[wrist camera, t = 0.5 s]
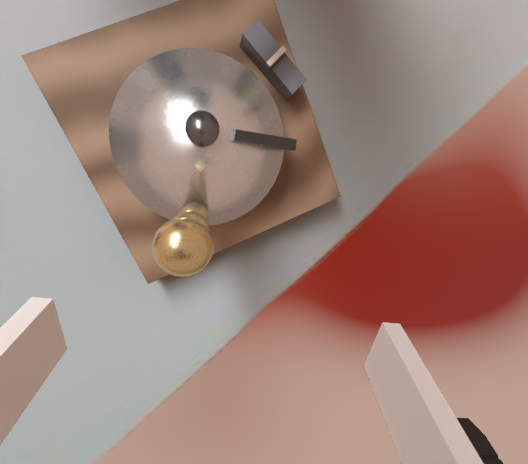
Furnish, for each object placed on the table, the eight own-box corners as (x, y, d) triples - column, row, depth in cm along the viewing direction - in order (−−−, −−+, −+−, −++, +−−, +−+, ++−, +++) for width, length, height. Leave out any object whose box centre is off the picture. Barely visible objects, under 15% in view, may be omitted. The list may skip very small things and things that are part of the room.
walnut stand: (40, 68, 29) (-2, 40, 23) (258, -9, 31) (269, -52, 25) (153, 275, 34) (142, 294, 28) (330, 195, 37) (352, 197, 31)
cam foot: (123, 44, 27) (-40, -220, 9) (295, 81, 30) (417, -58, 13) (114, 218, 29) (-26, 274, 12) (275, 233, 33) (354, 294, 15)
